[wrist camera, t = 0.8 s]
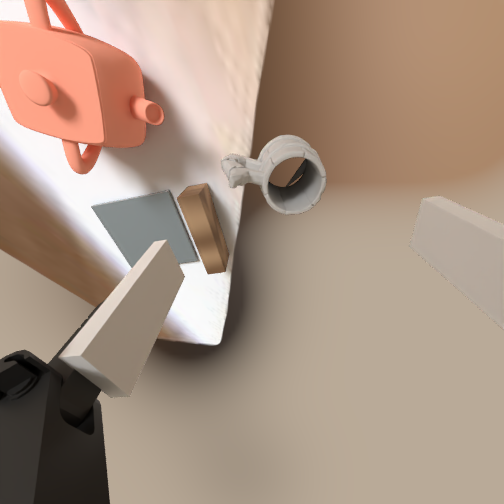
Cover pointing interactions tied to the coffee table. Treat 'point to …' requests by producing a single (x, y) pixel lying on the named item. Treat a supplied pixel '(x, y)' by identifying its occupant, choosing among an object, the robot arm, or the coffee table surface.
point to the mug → (259, 171)
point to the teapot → (72, 85)
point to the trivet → (145, 226)
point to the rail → (204, 227)
